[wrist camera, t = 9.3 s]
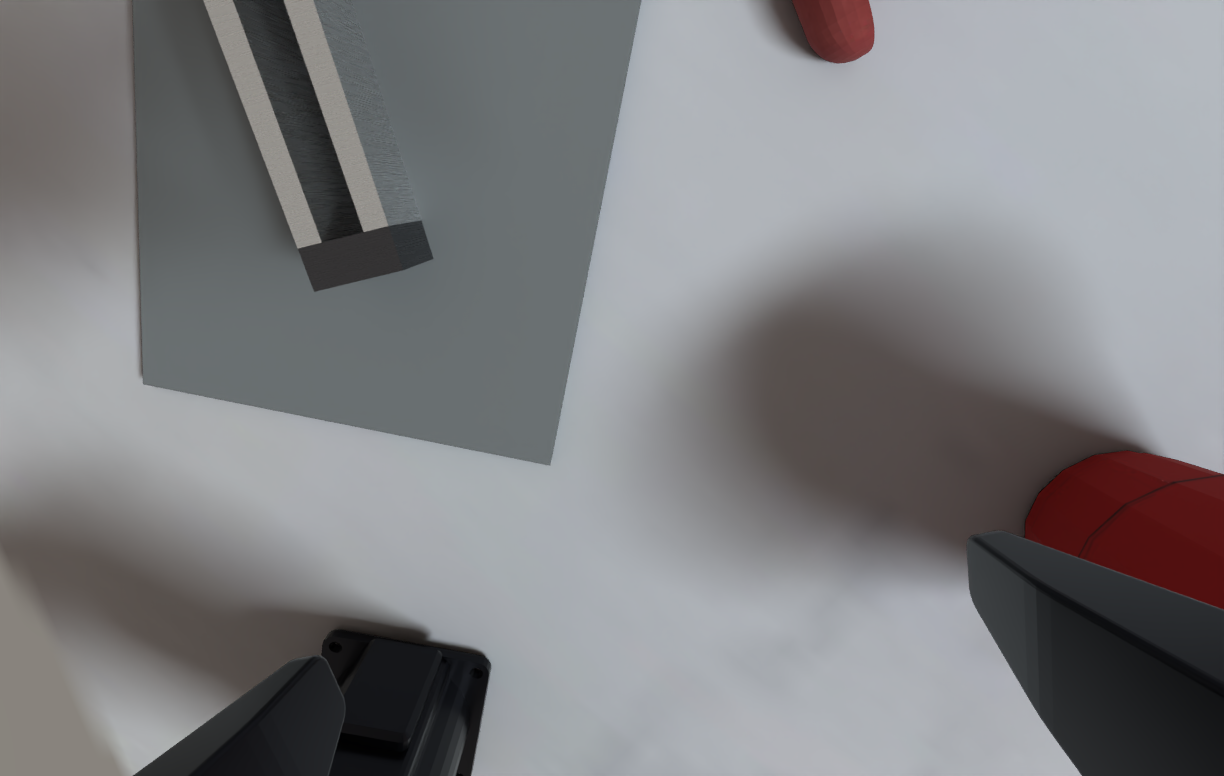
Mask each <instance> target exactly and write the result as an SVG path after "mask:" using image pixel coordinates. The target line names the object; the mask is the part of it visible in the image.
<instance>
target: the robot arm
mask: <svg viewBox="0 0 1224 776" xmlns="http://www.w3.org/2000/svg"><path fill="white" fill-rule="evenodd" d="M967 562H968V577H969V589H970V594H971V598H972V601H973V603H974V605H975V607H976V609H977V611H978V613H979V615H980V616H981V618H982V620H983V621H984V623H985V625H986V626H987V628H988V630H989V632H990V633H991V635H992V637H993V638H994V640H995V642H996V644H997V645H998V647H999V649H1000V650H1001V652H1002V654H1003V656H1004V657H1005V659H1006V661H1007V662H1008V664H1009V666H1010V668H1011V669H1012V671H1013V673H1014V674H1015V676H1016V678H1017V680H1018V681H1019V683H1020V685H1021V686H1022V688H1023V690H1024V692H1025V693H1026V695H1027V697H1028V698H1029V700H1030V702H1031V703H1032V705H1033V706H1034V708H1035V710H1036V711H1037V713H1038V715H1039V716H1040V718H1041V719H1042V721H1043V722H1044V723H1045V725H1046V726H1047V728H1048V729H1049V731H1050V732H1051V734H1052V735H1053V736H1054V738H1055V739H1056V741H1057V742H1058V743H1059V745H1060V746H1061V747H1062V749H1063V750H1064V752H1065V753H1066V754H1067V756H1068V757H1069V758H1070V760H1071V761H1072V763H1073V764H1074V765H1075V767H1076V768H1077V769H1078V771H1079V772H1080V774H1081V775H1082V776H1224V610H1223V609H1221V608H1218V607H1215V606H1212V605H1209V604H1207V603H1204V602H1201V601H1198V600H1195V599H1193V598H1190V597H1187V596H1184V595H1181V594H1179V593H1176V592H1173V591H1170V590H1167V589H1165V588H1162V587H1159V586H1156V585H1153V584H1151V583H1148V582H1145V581H1142V580H1140V579H1137V578H1134V577H1131V576H1128V575H1126V574H1123V573H1120V572H1117V571H1114V570H1112V569H1109V568H1106V567H1103V566H1100V565H1098V564H1095V563H1092V562H1089V561H1086V560H1084V559H1081V558H1078V557H1075V556H1072V555H1070V554H1067V553H1064V552H1061V551H1058V550H1056V549H1053V548H1050V547H1047V546H1044V545H1042V544H1039V543H1036V542H1033V541H1031V540H1028V539H1025V538H1022V537H1019V536H1017V535H1014V534H1011V533H1008V532H1005V531H993V532H987V533H982V534H977V535H972V536H971V537H970V538H969V539H968V541H967ZM335 642H338V643H339V644H340V645H337V644H336V643H335ZM474 668H478V669H481V670H482V671H477V670H475V669H474ZM490 672H491V663H490V662H489V660H488V659H487V658H485V657H483V656H479V655H474V654H469V653H463V652H458V651H453V650H447V649H442V648H436V647H431V646H426V645H420V644H415V643H410V642H404V641H399V640H393V639H388V638H383V637H377V636H372V635H367V634H361V633H356V632H350V631H345V630H333V631H331V632H330V633H329V634H328V635H327V637H326V638H325V640H324V642H323V645H322V656H319V655H314V656H309V657H303V658H298V659H294V660H291V661H290V662H288V663H287V664H285V665H284V666H283V667H281V668H280V669H279V670H277V671H276V672H274V673H273V674H272V675H270V676H269V677H268V678H266V679H265V680H263V681H262V682H261V683H259V684H258V685H257V686H255V687H254V688H252V689H251V690H250V691H248V692H247V693H246V694H244V695H243V696H242V697H240V698H239V699H237V700H236V701H235V702H233V703H232V704H231V705H229V706H228V707H226V708H225V709H224V710H222V711H221V712H220V713H218V714H217V715H216V716H214V717H213V718H211V719H210V720H209V721H207V722H206V723H205V724H203V725H202V726H200V727H199V728H198V729H196V730H195V731H194V732H192V733H191V734H190V735H188V736H187V737H185V738H184V739H183V740H181V741H180V742H179V743H177V744H176V745H174V746H173V747H172V748H170V749H169V750H168V751H166V752H165V753H164V754H162V755H161V756H159V757H158V758H157V759H155V760H154V761H153V762H151V763H150V764H148V765H147V766H146V767H144V768H143V769H142V770H140V771H139V772H138V773H136V774H135V775H133V776H471V774H472V770H473V765H474V759H475V754H476V748H477V743H478V737H479V732H480V726H481V721H482V715H483V710H484V705H485V699H486V694H487V688H488V683H489V677H490ZM459 773H460V774H459Z"/></svg>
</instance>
